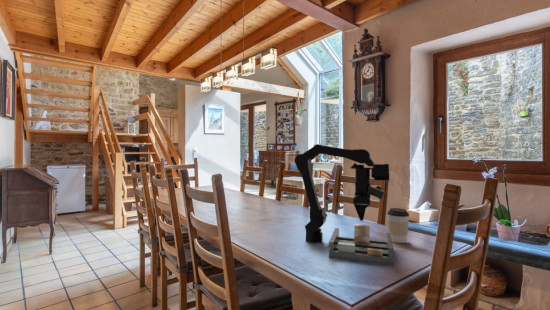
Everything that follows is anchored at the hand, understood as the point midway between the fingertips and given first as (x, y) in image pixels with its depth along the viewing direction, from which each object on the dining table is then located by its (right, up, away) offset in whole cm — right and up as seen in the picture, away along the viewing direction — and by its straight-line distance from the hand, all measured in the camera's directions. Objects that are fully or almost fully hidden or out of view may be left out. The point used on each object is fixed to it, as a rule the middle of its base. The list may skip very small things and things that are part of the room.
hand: (361, 218), depth 120 cm
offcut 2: (0, -12, -15) cm, 19 cm away
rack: (-2, -13, -6) cm, 15 cm away
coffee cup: (+19, -13, +10) cm, 25 cm away
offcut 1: (-9, -12, -12) cm, 19 cm away
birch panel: (0, -12, 0) cm, 12 cm away
